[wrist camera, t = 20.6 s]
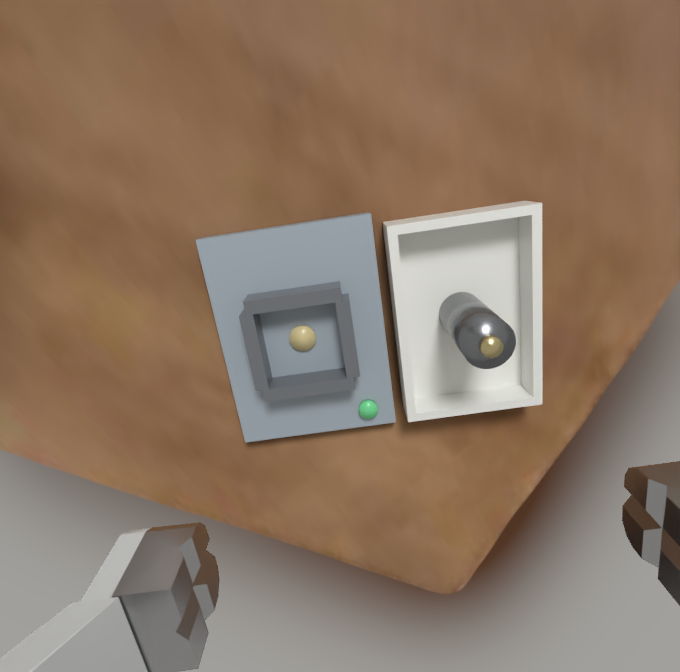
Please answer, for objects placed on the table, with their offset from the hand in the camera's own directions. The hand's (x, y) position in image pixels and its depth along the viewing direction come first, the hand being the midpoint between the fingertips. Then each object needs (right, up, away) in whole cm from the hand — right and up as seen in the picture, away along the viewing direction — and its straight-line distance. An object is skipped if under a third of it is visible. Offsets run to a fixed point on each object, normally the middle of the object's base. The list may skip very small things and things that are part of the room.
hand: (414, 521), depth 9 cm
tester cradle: (-5, +4, +35) cm, 35 cm away
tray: (+10, +6, +34) cm, 36 cm away
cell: (+10, +6, +34) cm, 35 cm away
